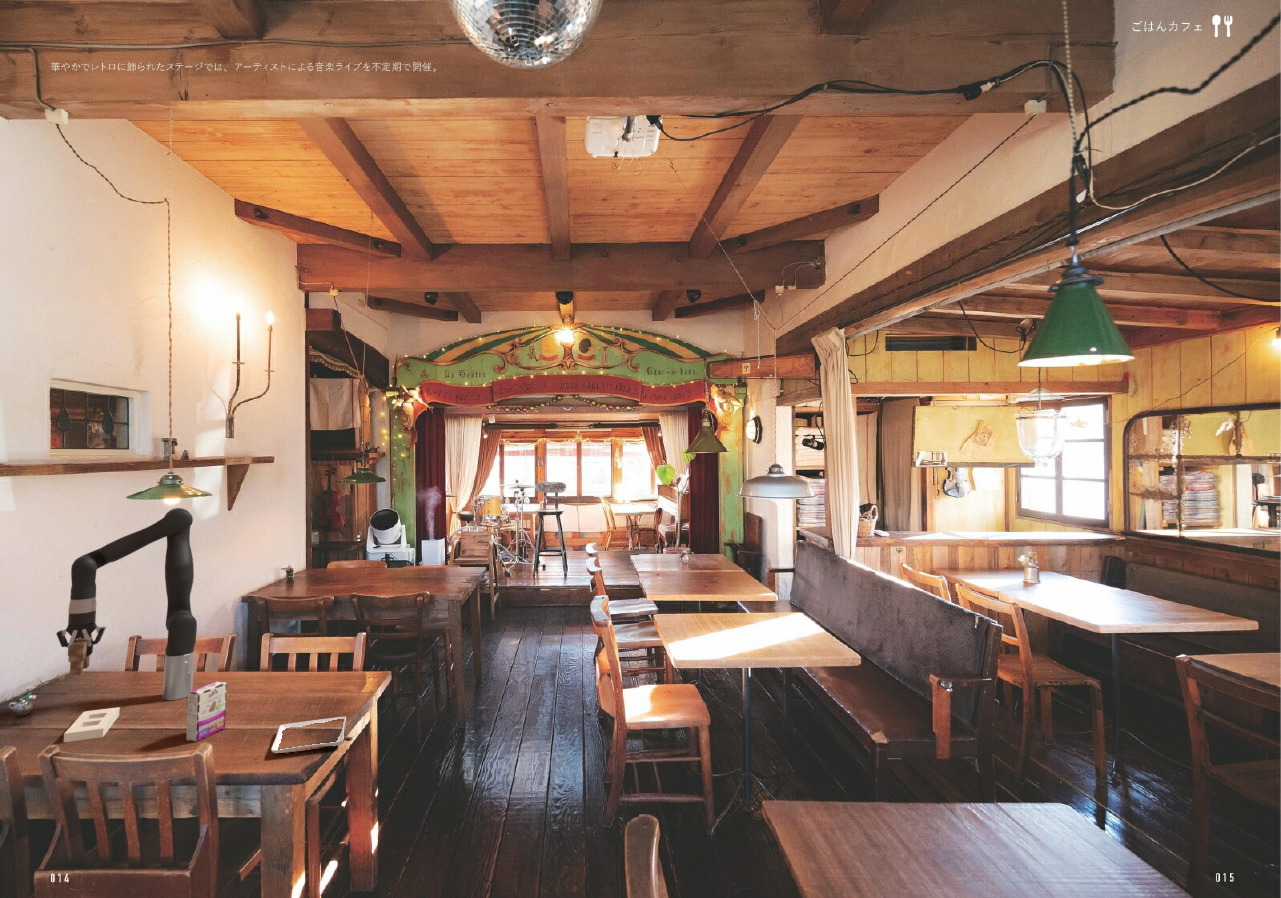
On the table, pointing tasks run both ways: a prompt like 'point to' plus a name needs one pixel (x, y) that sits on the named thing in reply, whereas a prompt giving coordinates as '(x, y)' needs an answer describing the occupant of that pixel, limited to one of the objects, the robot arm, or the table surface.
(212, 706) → the candy bar box
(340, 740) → the rectangular frame
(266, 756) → the table surface
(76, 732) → the slotted block
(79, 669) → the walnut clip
